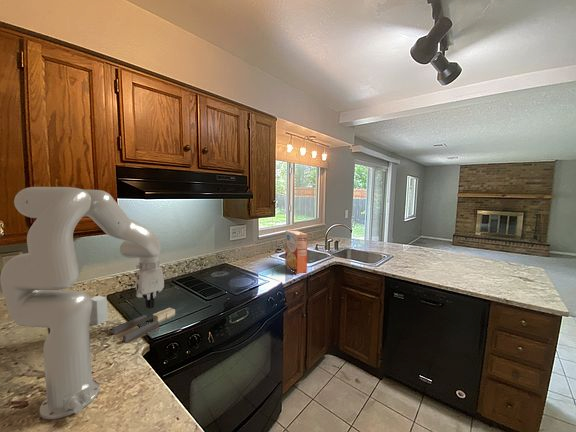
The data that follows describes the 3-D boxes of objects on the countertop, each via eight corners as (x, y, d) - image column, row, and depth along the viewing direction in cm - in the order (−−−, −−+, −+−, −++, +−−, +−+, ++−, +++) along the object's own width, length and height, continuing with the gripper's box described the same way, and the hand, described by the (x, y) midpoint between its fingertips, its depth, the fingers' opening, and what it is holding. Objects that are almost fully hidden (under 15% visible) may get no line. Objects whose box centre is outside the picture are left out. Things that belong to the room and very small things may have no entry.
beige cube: (175, 317, 115) (175, 309, 114) (167, 321, 111) (166, 313, 111) (170, 315, 117) (169, 307, 116) (162, 319, 113) (161, 310, 113)
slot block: (160, 331, 104) (160, 322, 104) (127, 347, 93) (126, 337, 93) (143, 322, 111) (143, 314, 110) (111, 336, 100) (110, 327, 99)
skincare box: (108, 323, 110) (107, 297, 109) (97, 327, 106) (96, 301, 105) (100, 320, 112) (99, 295, 111) (89, 324, 109) (88, 298, 108)
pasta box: (285, 266, 200) (285, 230, 197) (294, 265, 203) (294, 229, 200) (296, 275, 179) (297, 234, 176) (306, 274, 182) (307, 234, 179)
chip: (166, 321, 111) (166, 313, 111) (158, 325, 108) (158, 316, 108) (161, 318, 113) (161, 310, 113) (153, 322, 110) (152, 314, 110)
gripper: (135, 270, 97) (136, 316, 97) (171, 263, 109) (171, 303, 110) (126, 267, 100) (127, 311, 101) (161, 261, 113) (161, 299, 114)
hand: (150, 307), depth 106 cm, fingers closed
